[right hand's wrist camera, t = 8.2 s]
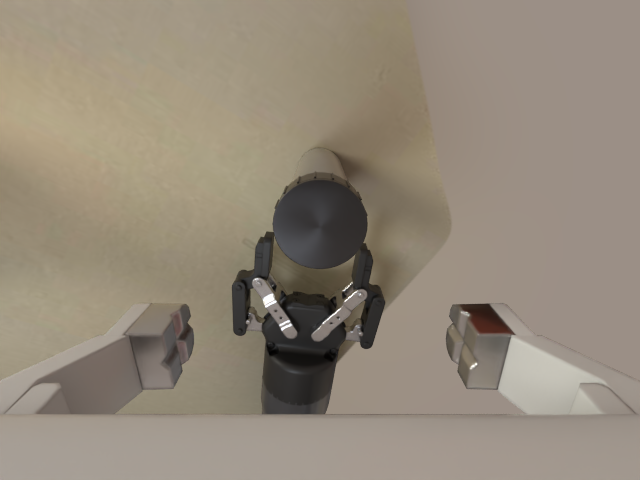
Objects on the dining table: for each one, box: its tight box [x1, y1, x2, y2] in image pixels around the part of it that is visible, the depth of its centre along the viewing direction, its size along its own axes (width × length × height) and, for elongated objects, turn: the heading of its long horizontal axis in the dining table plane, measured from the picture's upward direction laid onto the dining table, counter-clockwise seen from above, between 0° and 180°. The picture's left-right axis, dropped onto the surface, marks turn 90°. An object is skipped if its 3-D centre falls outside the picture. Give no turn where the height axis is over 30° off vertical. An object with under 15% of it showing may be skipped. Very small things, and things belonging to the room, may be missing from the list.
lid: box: [273, 171, 367, 269], centre depth 20 cm, size 5×5×2 cm
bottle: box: [291, 148, 347, 183], centre depth 27 cm, size 5×5×17 cm
